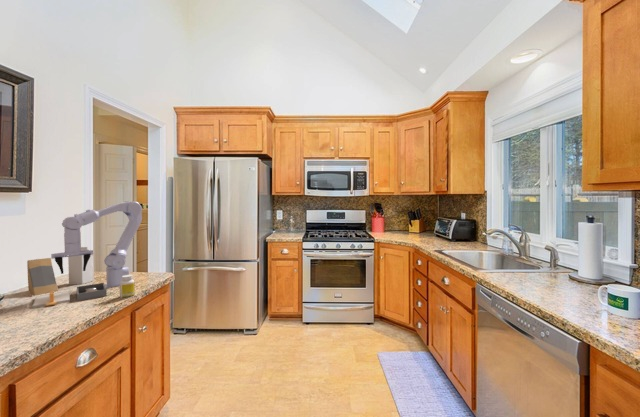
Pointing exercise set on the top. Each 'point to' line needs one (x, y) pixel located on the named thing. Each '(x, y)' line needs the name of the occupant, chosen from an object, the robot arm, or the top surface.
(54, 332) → the top surface
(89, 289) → the domed metal puck
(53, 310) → the top surface
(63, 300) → the lid
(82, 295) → the tub
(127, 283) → the supplement bottle
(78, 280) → the milk carton
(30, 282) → the sandwich container
